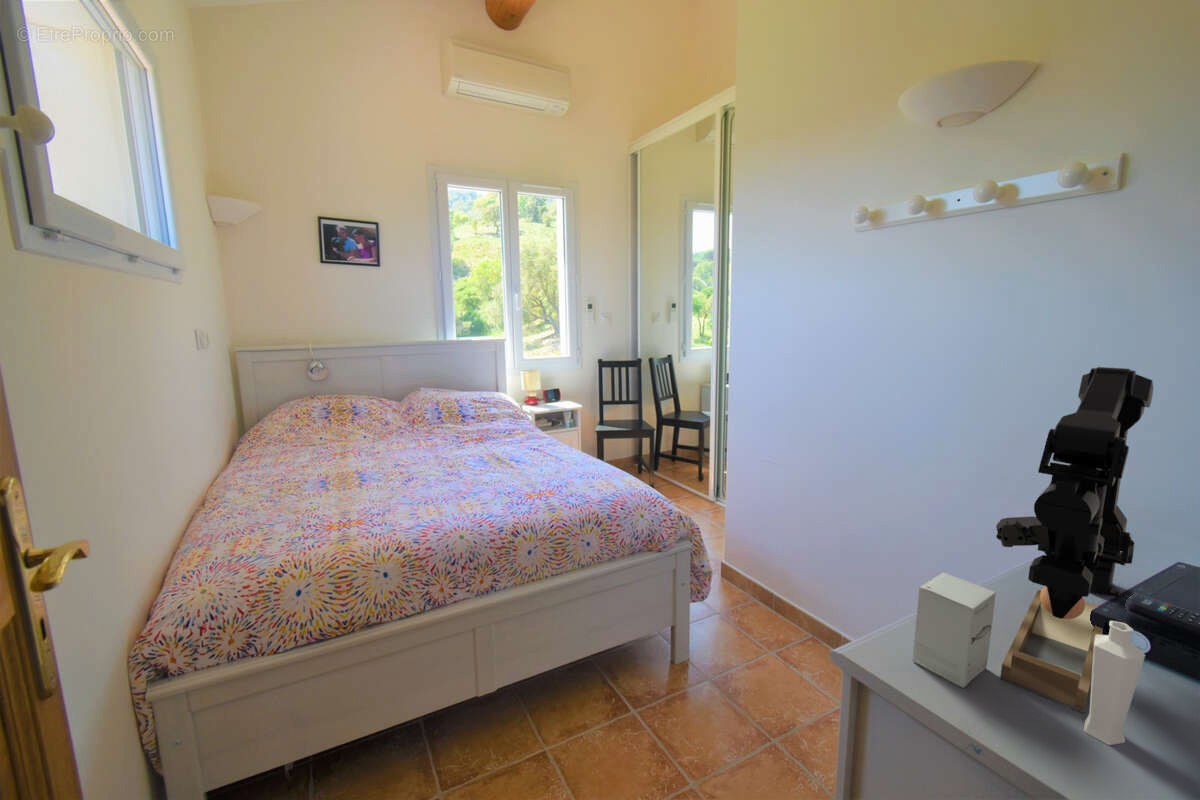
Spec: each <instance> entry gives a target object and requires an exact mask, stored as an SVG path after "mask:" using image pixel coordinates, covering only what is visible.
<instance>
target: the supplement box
mask: <svg viewBox="0 0 1200 800" xmlns="http://www.w3.org/2000/svg"><path fill="white" fill-rule="evenodd" d="M995 601H996V592H995V591H993V590H991V589H988V588H986V587H983V586H980V585H978V584H975V583H973V582H971V581H968V580H964V579H962V578H959V577H958V576H957V577H956V576H954V575H950V574H949V573H946V572H941V573H940V574H938V575H937V576H935V577H934V578H932V579H930V580H929V581H927V582H926V583H924V584H922V585H921V586H919V587H918V597H917V608H916V618H915V619H916V620H915V627H914V630H915V631H914V640H913V648H912V650H913V651H912V662H914V663H915V664H918V665H919V666H921V667H923V668H925V669H926V670H929V671H930V672H932V673H934V674H935V675H938V676H940V677H941V678H943V679H945V680H947V681H949V682H950V683H952V684H954V685H956V686H958V687H960V688H963V689H964V688H965V687H967V686H968V684H969V683H970V682H971V681H972V680H973V679H975V677H977V676H978V675H979V674H980V673H982V672H983V671H984V670H986V669H987V667H988V660H989V659H988V658H989V652H990V651H989V650H990V643H991V637H992V636H991V635H992V630H993V629H992V628H993V627H992V626H993V618H994V611H995V604H996V603H995Z"/></svg>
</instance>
